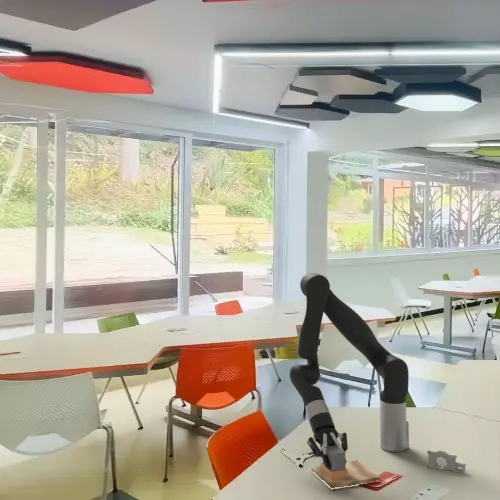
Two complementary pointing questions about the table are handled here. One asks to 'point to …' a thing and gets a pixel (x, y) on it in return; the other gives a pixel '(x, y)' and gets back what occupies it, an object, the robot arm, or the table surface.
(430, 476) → the table surface
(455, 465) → the garden wall model
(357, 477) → the oak board
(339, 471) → the block
